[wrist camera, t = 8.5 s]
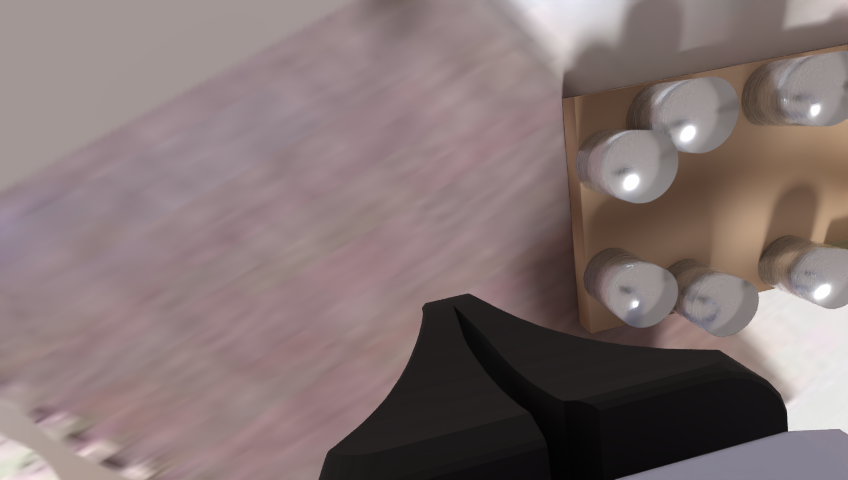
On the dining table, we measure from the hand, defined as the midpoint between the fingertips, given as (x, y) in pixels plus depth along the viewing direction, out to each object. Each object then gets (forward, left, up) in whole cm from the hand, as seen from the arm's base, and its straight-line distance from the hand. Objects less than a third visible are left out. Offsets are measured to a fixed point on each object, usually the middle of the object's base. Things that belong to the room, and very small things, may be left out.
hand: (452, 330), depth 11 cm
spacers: (-1, -15, -9) cm, 17 cm away
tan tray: (-1, -20, -10) cm, 22 cm away
